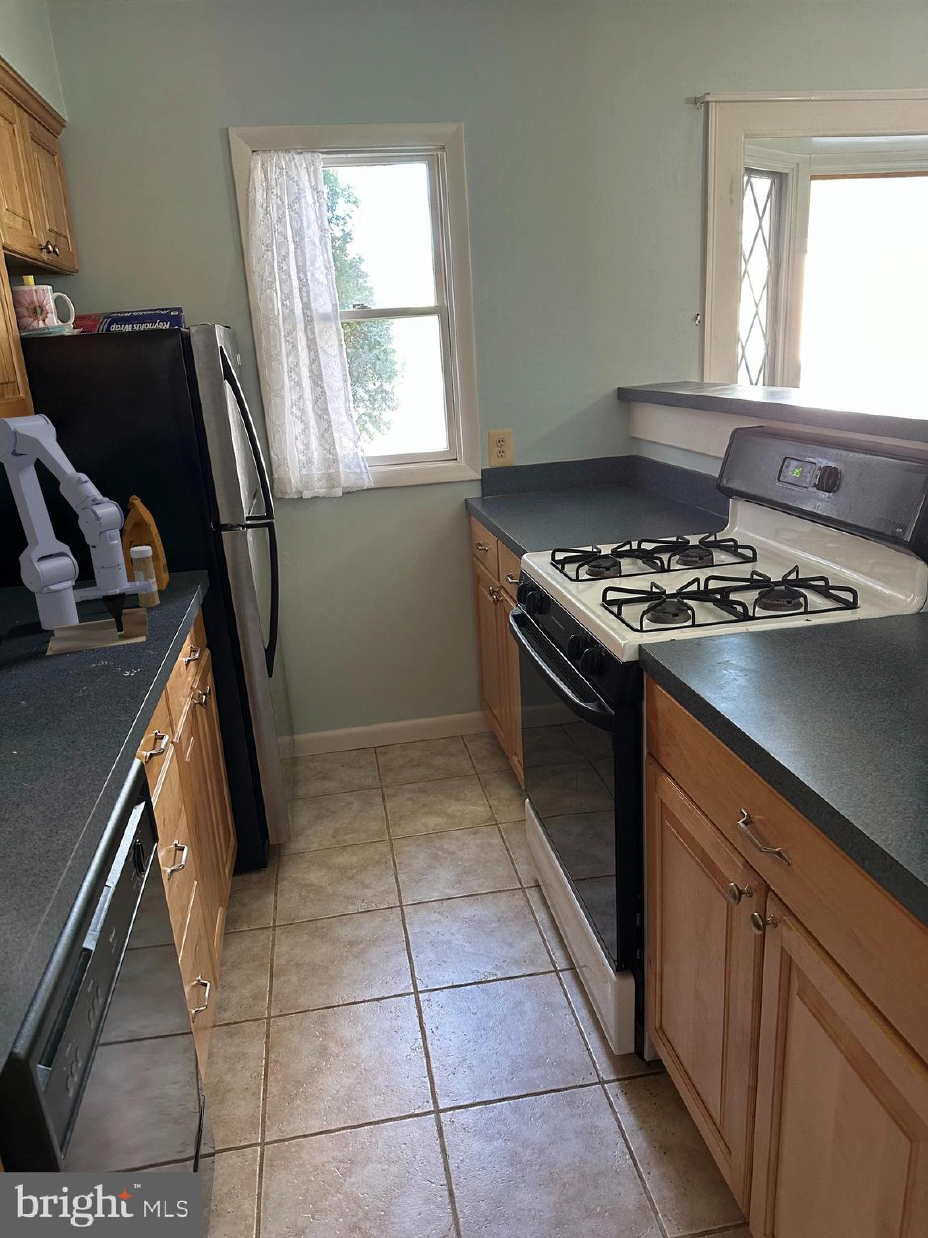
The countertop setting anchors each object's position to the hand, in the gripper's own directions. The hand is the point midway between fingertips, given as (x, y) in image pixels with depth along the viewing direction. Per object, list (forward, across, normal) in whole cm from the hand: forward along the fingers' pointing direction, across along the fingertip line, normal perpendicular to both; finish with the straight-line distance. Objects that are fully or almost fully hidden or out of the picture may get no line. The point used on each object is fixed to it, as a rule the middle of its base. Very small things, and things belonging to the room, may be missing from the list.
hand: (120, 630), depth 177 cm
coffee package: (+2, +6, +43) cm, 44 cm away
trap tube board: (+2, -4, 0) cm, 5 cm away
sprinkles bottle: (+2, +6, +25) cm, 26 cm away
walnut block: (+1, +3, 0) cm, 3 cm away
